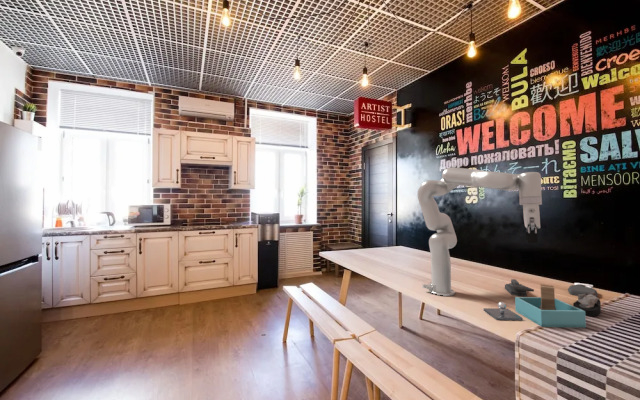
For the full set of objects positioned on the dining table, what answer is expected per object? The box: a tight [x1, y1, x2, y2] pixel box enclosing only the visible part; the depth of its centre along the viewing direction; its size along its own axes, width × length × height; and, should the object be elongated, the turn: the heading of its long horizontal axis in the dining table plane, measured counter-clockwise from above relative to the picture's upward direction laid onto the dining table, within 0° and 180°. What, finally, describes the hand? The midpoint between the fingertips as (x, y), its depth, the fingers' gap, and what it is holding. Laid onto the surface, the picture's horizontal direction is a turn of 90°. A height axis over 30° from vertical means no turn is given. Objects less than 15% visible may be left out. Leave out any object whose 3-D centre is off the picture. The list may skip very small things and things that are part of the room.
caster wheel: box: [572, 292, 602, 317], centre depth 116 cm, size 7×11×10 cm
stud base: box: [483, 301, 524, 321], centre depth 115 cm, size 10×10×6 cm
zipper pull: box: [504, 278, 535, 297], centre depth 141 cm, size 9×7×25 cm
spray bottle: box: [567, 282, 598, 298], centre depth 145 cm, size 3×11×24 cm
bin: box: [514, 296, 587, 328], centre depth 111 cm, size 16×16×6 cm
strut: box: [539, 284, 556, 310], centre depth 111 cm, size 5×5×12 cm
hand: (531, 241), depth 117 cm, fingers open, 9 cm apart
